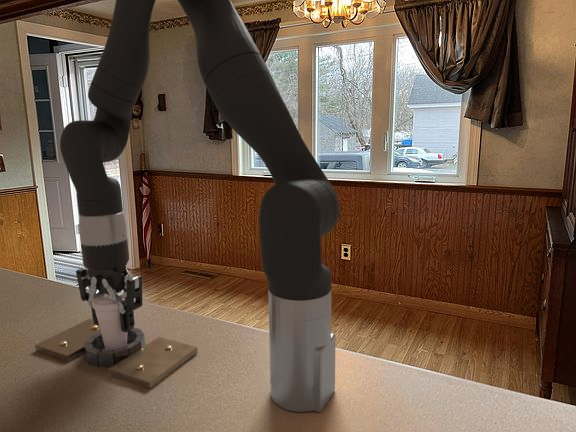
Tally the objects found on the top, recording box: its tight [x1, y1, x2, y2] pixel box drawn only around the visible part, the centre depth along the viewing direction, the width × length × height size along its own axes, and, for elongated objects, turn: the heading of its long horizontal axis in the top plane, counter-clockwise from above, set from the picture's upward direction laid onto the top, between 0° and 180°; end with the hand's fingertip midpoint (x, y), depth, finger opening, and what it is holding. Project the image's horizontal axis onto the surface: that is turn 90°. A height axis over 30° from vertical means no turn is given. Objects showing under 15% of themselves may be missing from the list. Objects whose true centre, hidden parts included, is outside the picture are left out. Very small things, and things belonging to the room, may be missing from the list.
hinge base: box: [34, 318, 198, 390], centre depth 78 cm, size 28×12×2 cm, turn 64°
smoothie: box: [92, 291, 128, 350], centre depth 77 cm, size 6×6×14 cm
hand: (113, 326), depth 77 cm, fingers closed on smoothie, 6 cm apart
